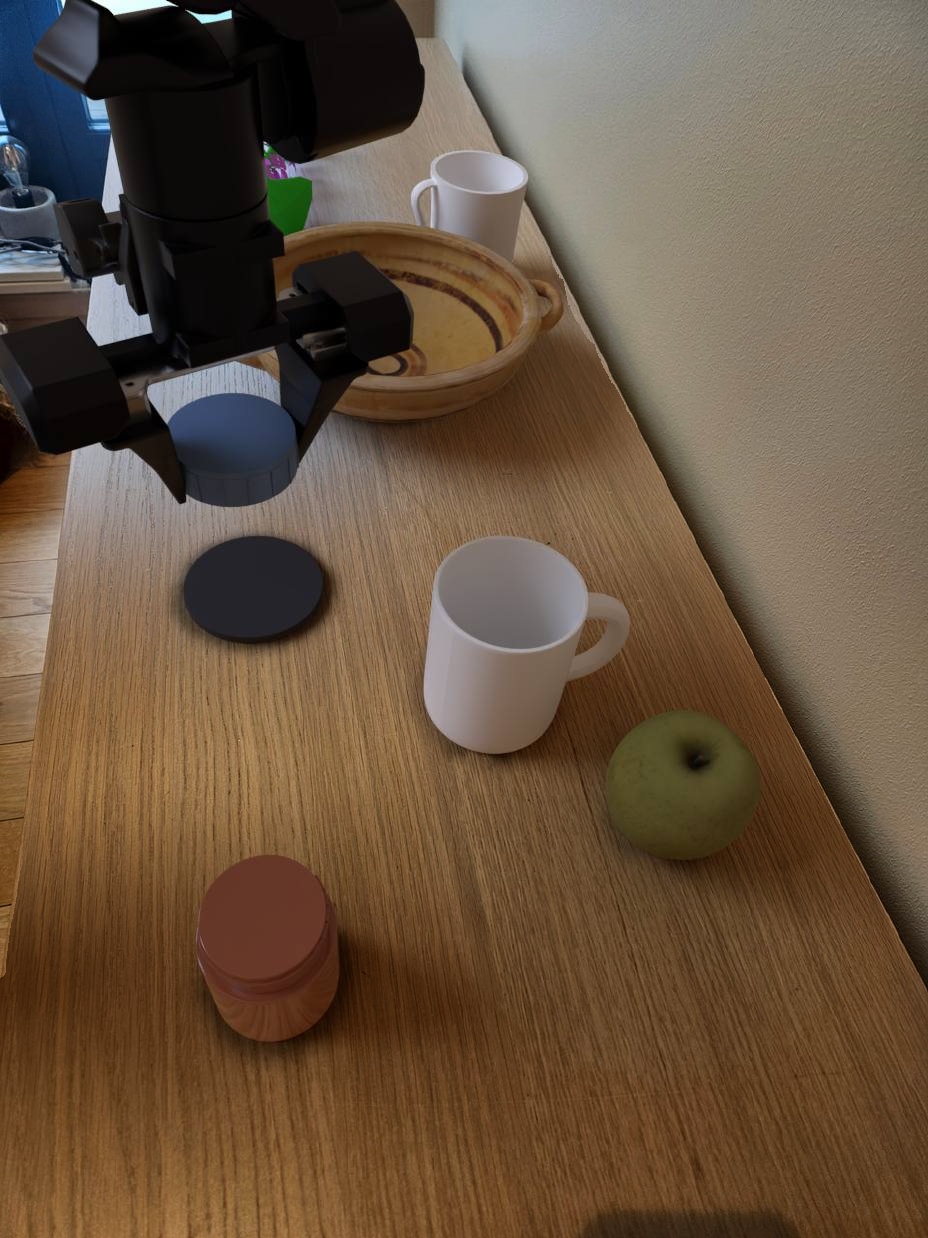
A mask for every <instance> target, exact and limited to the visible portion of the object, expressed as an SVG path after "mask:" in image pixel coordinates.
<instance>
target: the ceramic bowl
mask: <svg viewBox="0 0 928 1238" xmlns="http://www.w3.org/2000/svg"><path fill="white" fill-rule="evenodd" d="M284 248H285V256H282V257H278V258H273V263H274V276H275V288H276V299H278V298H279V293H280V291H282V290H284V289H287V288H291V287H293V286H292V272H293V271H294V269H295V268H296V267H297V266H298V265H299V264H302V263H306V262H310V261H314V260H319V259H323V258H327V257H331V256H336V255H340V254H344V253H348V252H353V251H359V252H360V253H361V254H362V255H363V256H364V257H365V258H367V259H368V260H369V261H370V262H371V263H372V264H373V265H374V266H375V267H377V268H378V269H379V270H380V271H381V272H382V273H383V274H384V275H385V276H386V277H387V278H389V279H390V280H391V281H392V282H393V283H394V284H395V285H396V286H397V287H398V288H399V289H401V290H402V291H403V292H404V293H405V294H406V295H407V296H408V297H409V300H410V302H411V305H412V308H413V311H414V327H413V342H412V344H411V347H410V349H409V350H406V351H403V352H400V353H396V354H393V355H390V356H386V357H383V358H380V359H376V360H373V361H370V362H369V368H368V372H367V373H366V374H365V375H363V376H361V377H358V378H356V379H355V380H354V381H353V382H352V383H351V385H350V386H349V387H348V389H347V390H346V391H345V393H344V394H343V396H342V397H341V398H340V400H339V401H338V402H337V404H336V405H335V406H334V408H333V409H332V411H331V412H330V413H333V414H336V415H339V416H343V417H347V418H351V419H357V420H361V421H362V420H363V421H369V422H374V423H393V424H394V423H396V424H398V423H399V424H401V423H402V424H403V423H416V422H426V421H430V420H437V419H442V418H446V417H449V416H452V415H456V414H458V413H462V412H464V411H466V410H468V409H470V408H472V407H473V406H477V405H478V404H480V403H482V402H484V401H486V400H487V399H488V398H490V397H492V396H493V395H494V394H495V393H498V391H500V390H501V389H503V388H504V387H505V385H507V383H508V382H509V381H510V380H511V379H512V378H513V376H515V374H517V372H518V370H519V369H520V368H521V366H522V364H523V362H524V360H525V358H526V357H527V355H528V353H529V351H530V349H531V347H532V346H533V344H534V343H535V341H536V340H538V339H539V338H542V337H543V336H545V335H546V334H547V333H548V332H550V331H552V329H553V328H555V327H556V325H558V323H559V322H560V320H561V319H562V317H563V315H564V309H565V306H564V301H563V297H562V294H561V292H560V291H559V290H558V289H557V288H556V287H554V286H553V285H552V284H551V283H549V282H547V281H545V280H541V279H529V278H528V277H527V275H525V273H524V272H523V271H522V270H521V269H520V268H519V267H518V266H516V265H515V264H514V263H513V262H512V263H511V262H510V261H509V260H508V259H506V258H505V257H503V256H501V255H500V254H498V253H496V252H495V251H493V250H492V249H490V248H488V247H486V246H483V245H481V244H479V243H477V242H475V241H473V240H470V239H467V238H464V237H462V236H459V235H456V234H453V233H450V232H446V231H442V230H438V229H434V228H430V226H427V227H425V226H418V225H417V224H410V223H405V222H393V221H377V220H376V221H349V222H338V223H330V224H324V225H320V226H315V227H310V228H306V229H304V230H303V231H300V232H296V233H293V234H290V235H287V236H285V237H284ZM540 297H542V298H545V299H547V300H548V301H549V302H550V304H551V306H550V309H549V310H548V312H547V313H545V314H544V313H543V312H544V311H543V307H542V302H541V298H540ZM235 362H237V363H238V364H242V365H245V366H248V367H250V368H253V369H256V370H259V371H263V372H266V373H267V374H268V375H269V376H270V377H271V378H273V379H274V380H275V381H276V382H277V383H278V384H280V378H279V362H278V358H277V354H276V351H275V350H273V351H270V352H266V353H262V354H259V355H255V356H252V357H248V358H245V359H241V360H237V361H235Z"/></svg>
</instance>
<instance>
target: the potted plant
mask: <svg viewBox="0 0 928 1238" xmlns="http://www.w3.org/2000/svg"><path fill="white" fill-rule="evenodd" d="M264 146H266V147H267V148H268V149H267V150H265V148H264V153H265V166H266V178H267V190H268V202H269V214H270V220H271V221H272V222H273V223H274V224H275V225H276V226H277V227H278V228H279V229H280V230H281V231H282V232H283V233H284V237H285V236H287V235H290V234H293V233H296V232H300V231H303V230H305V226H306V223H307V219H308V216H309V212H310V210H311V206H312V201H313V180H310V179H308V178H306V177H303V176H294V177H289V175H288V173H287V164H286V163H285V162H286V161H287V160H285V159H284V158H282V157H281V156H280V155H279V154H278V153H277V152H275V151H274V150H273V149H272V148H271V146H270V145H269V144H268V143H266V142H264ZM290 166H292V167H293V168H294V171H295V173H297V166H296V163H292V162H288V167H290ZM277 169H278V170H280V173H279V171H278V170H277Z"/></svg>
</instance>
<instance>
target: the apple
mask: <svg viewBox="0 0 928 1238" xmlns="http://www.w3.org/2000/svg"><path fill="white" fill-rule="evenodd" d="M761 785H762V780H761V771H760V768H759V766H758V762H757V759H756V758H755V756H754V754H753V753H752V751H751V749H750V748H749V746H748V745H747V744H746V742H745V741H744V740H743V738H741V737H740V735H739V734H737V733H736V732H735V731H734V730H733V729H732V728H731V727H729V726H728V725H727V724H725V723H724V722H723V721H721V720H720V719H718V718H716V717H714V716H712V715H710V714H708V713H705V712H702V711H697V710H690V709H679V710H678V709H675V710H669V711H665V712H661V713H658V714H655V715H653V716H651V717H649V718H647V719H645V720H643V721H642V722H640V723H639V724H637V725H636V726H634V728H632V729H631V730H629V732H628V733H627V734H626V735H625V736H624V737H623V738H622V740H620V742H619V743H618V744H617V747H616V748H615V750H614V752H613V754H612V756H611V758H610V761H609V764H608V767H607V770H606V776H605V785H604V787H605V788H604V789H605V799H606V802H607V807H608V810H609V814H610V816H611V818H612V820H613V822H614V824H615V825H616V827H617V829H618V830H619V832H620V833H621V834H622V835H623V836H624V838H625V839H626V840H627V841H629V842H630V843H631V844H632V845H633V846H634V847H635V848H637V849H639V850H640V851H642V852H644V853H647V854H649V855H651V856H653V857H657V858H661V859H668V860H677V861H691V860H698V859H702V858H705V857H706V858H707V857H709V856H712V855H713V854H716V853H718V852H720V851H722V850H724V849H725V848H727V847H728V846H730V845H731V844H732V843H734V841H736V839H738V838H739V837H740V836H741V835H742V834H743V832H744V831H745V830H746V828H747V827H748V826H749V824H750V822H751V820H752V819H753V817H754V815H755V813H756V811H757V808H758V805H759V802H760V801H759V800H760V797H761V791H762V790H761V788H762V787H761Z"/></svg>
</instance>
